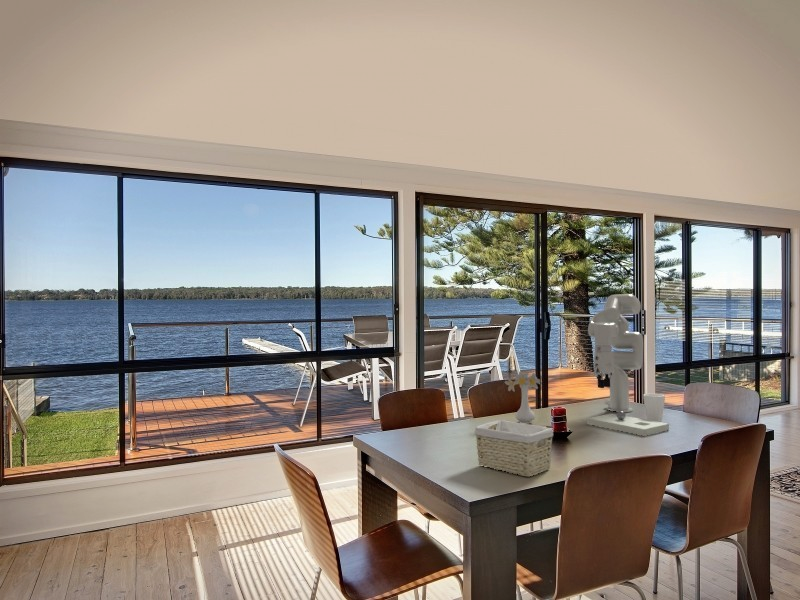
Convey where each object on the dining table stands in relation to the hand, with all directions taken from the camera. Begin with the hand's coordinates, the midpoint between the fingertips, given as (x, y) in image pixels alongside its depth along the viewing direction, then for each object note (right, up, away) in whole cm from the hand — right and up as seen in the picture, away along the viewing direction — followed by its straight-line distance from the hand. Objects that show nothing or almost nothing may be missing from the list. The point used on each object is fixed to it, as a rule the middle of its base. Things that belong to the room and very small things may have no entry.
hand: (604, 387), depth 269 cm
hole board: (+7, -17, -10) cm, 21 cm away
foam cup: (+24, -17, 0) cm, 30 cm away
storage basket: (-57, -18, -69) cm, 92 cm away
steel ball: (+5, -12, -8) cm, 15 cm away
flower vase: (-37, -18, +3) cm, 42 cm away
